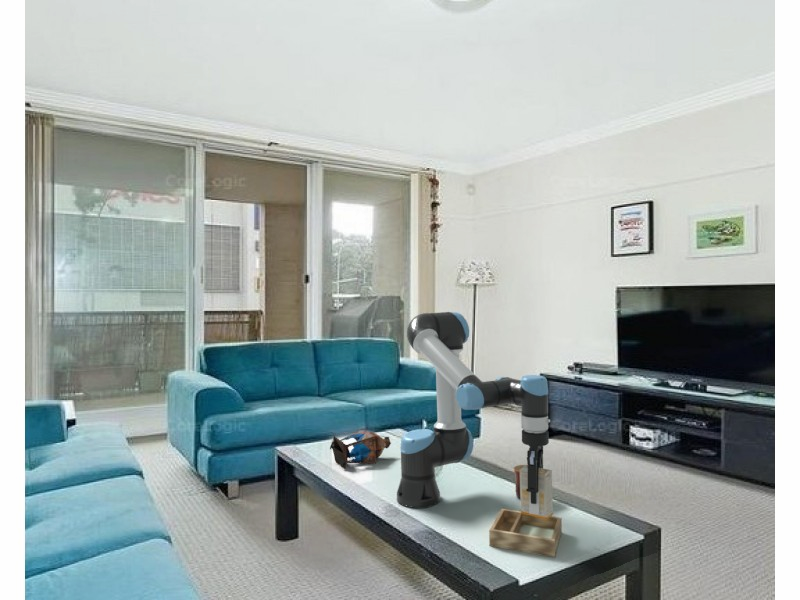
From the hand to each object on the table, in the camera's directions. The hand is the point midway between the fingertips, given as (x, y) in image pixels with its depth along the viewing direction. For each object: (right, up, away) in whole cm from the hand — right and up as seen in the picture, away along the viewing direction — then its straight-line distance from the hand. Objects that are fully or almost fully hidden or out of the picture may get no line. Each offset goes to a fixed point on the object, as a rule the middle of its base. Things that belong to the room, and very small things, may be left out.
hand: (536, 509), depth 155 cm
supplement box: (0, -2, 0) cm, 2 cm away
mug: (+4, -9, +30) cm, 32 cm away
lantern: (-55, -9, +74) cm, 93 cm away
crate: (-2, -9, +1) cm, 10 cm away
